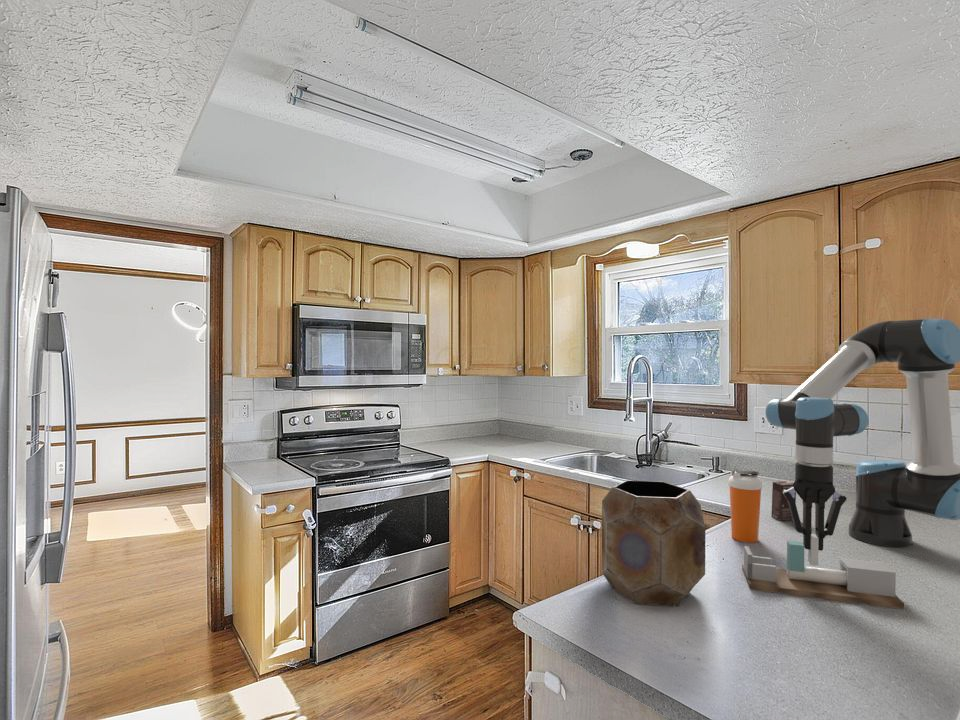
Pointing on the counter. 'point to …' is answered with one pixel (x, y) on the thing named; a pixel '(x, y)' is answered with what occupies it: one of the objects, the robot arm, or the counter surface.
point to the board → (820, 590)
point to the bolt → (810, 568)
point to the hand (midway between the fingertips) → (813, 563)
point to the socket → (758, 567)
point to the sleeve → (869, 577)
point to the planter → (652, 542)
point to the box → (781, 501)
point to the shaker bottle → (745, 505)
